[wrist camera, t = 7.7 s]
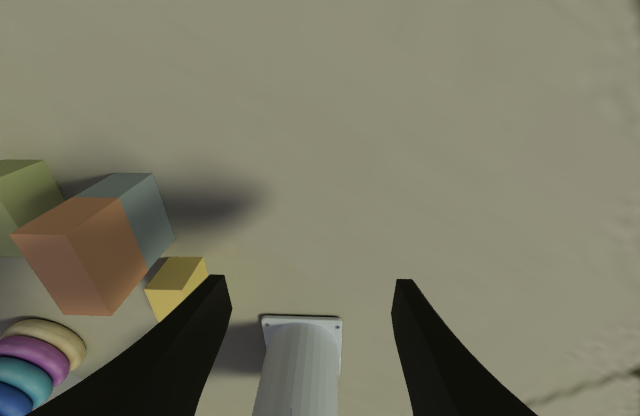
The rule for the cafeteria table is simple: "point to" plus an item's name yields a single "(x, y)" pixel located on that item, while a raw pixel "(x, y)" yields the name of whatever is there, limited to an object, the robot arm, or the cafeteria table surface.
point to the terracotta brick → (84, 254)
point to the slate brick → (138, 210)
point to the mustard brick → (174, 283)
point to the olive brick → (24, 198)
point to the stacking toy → (35, 363)
